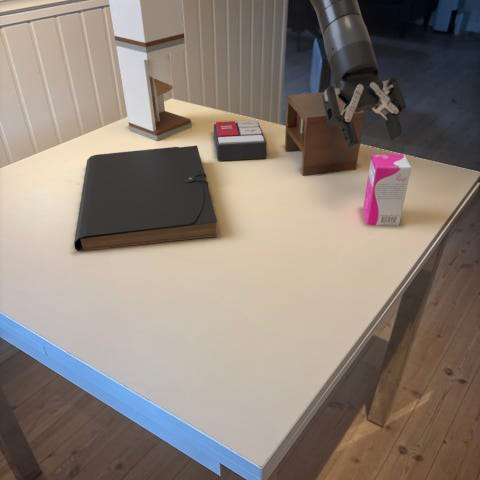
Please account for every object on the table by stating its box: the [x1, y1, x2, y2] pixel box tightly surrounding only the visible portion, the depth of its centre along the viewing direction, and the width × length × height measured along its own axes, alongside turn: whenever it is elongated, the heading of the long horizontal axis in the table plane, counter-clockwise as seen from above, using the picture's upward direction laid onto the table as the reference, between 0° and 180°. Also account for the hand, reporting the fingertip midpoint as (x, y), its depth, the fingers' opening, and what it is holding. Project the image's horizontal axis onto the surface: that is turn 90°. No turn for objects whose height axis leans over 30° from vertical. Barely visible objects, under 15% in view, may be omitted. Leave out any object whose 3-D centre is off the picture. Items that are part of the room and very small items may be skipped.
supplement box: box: [362, 153, 412, 227], centre depth 85 cm, size 6×6×12 cm
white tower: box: [108, 0, 192, 142], centre depth 112 cm, size 11×11×35 cm
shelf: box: [284, 91, 366, 176], centre depth 105 cm, size 12×14×12 cm
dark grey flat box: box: [213, 119, 268, 162], centre depth 113 cm, size 11×4×15 cm
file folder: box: [73, 145, 218, 252], centre depth 94 cm, size 33×4×24 cm
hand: (375, 142), depth 84 cm, fingers open, 8 cm apart
